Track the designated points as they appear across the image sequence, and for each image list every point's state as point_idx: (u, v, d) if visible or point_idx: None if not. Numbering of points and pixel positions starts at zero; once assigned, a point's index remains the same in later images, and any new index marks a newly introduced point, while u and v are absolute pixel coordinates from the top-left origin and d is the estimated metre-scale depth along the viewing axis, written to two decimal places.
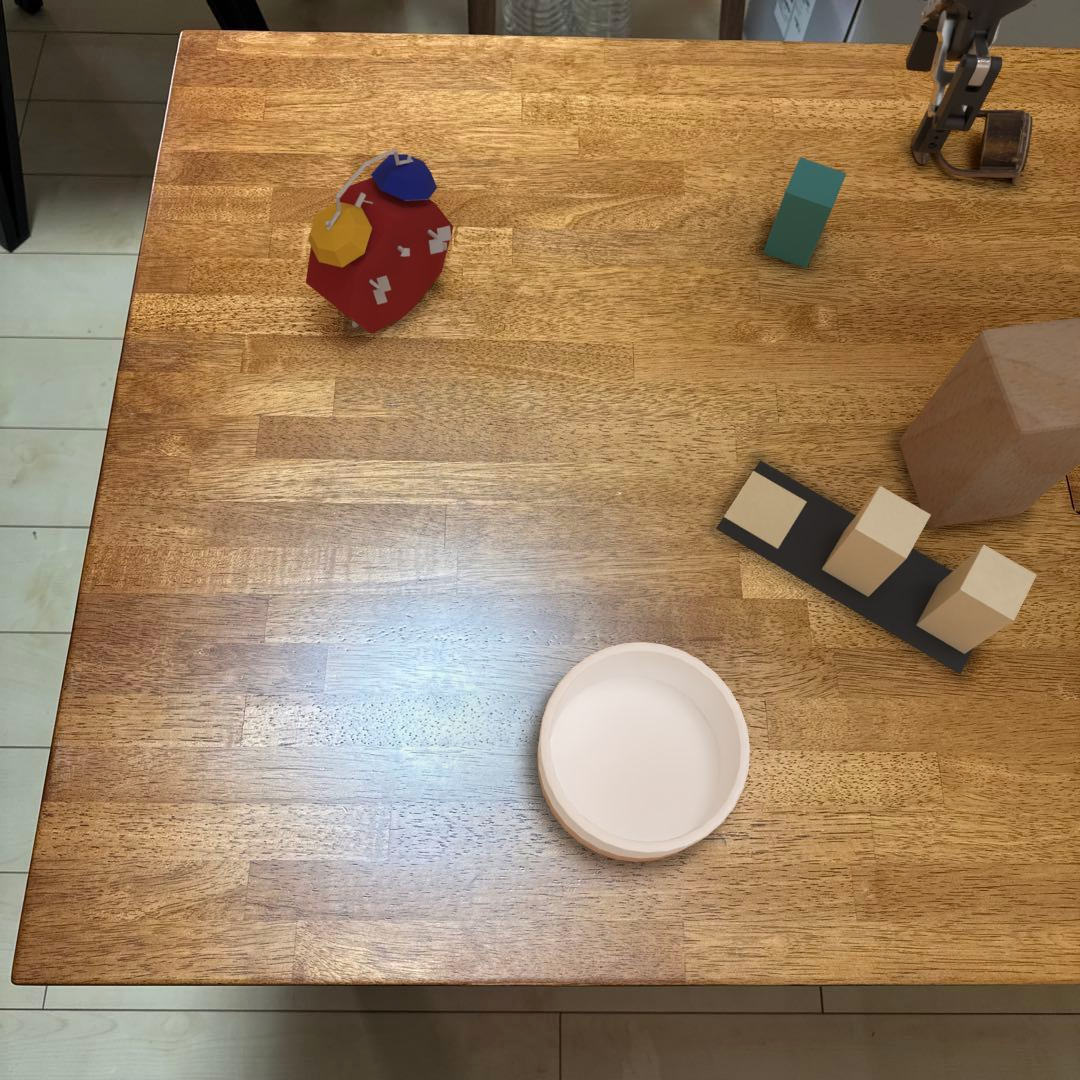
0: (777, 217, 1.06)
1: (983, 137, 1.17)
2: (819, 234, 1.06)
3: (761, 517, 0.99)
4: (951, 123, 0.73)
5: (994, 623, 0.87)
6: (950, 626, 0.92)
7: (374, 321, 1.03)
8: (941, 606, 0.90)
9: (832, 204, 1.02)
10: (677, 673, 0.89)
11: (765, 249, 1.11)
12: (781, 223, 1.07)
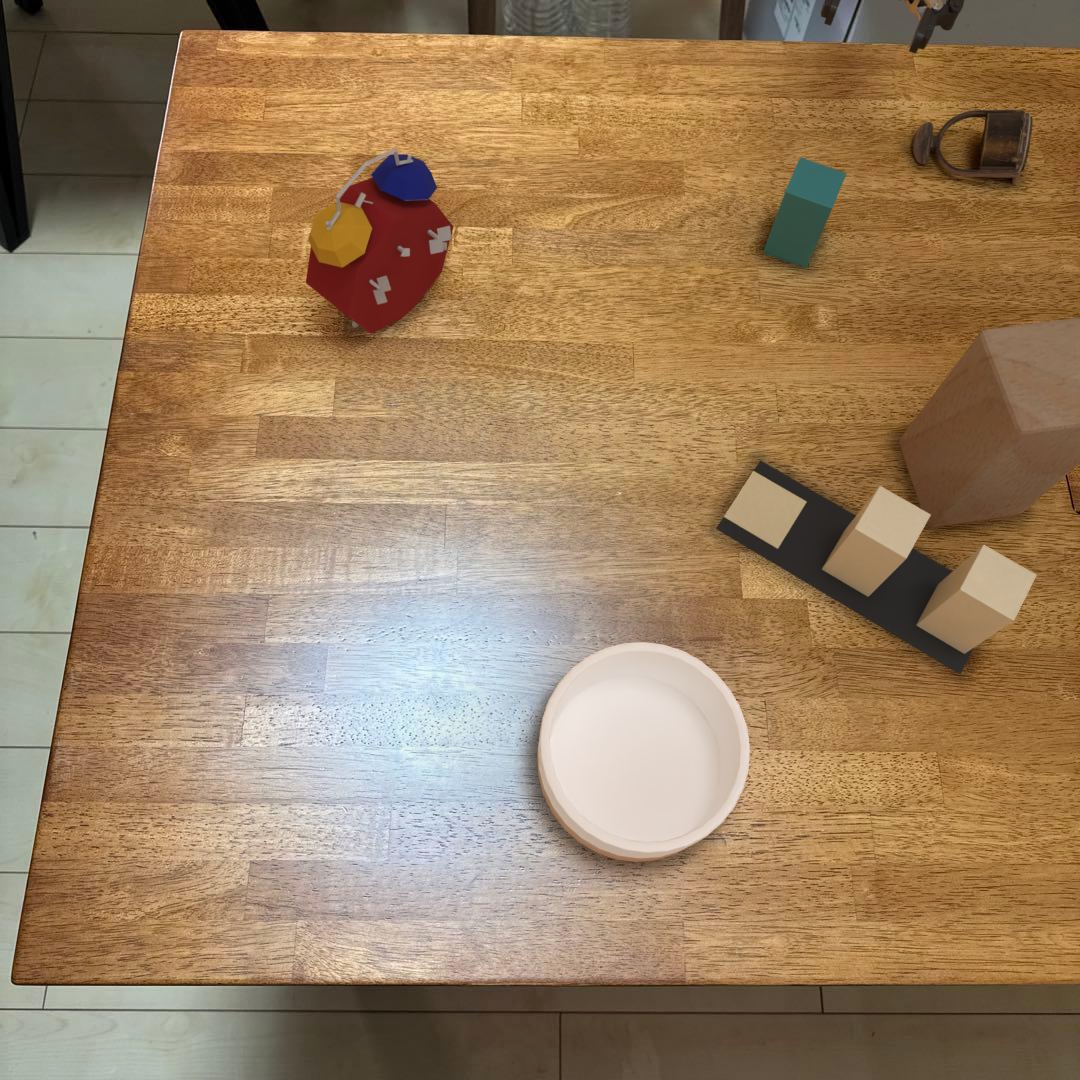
0: (777, 217, 1.06)
1: (983, 137, 1.17)
2: (819, 234, 1.06)
3: (761, 517, 0.99)
4: None
5: (994, 623, 0.87)
6: (950, 626, 0.92)
7: (374, 321, 1.03)
8: (941, 606, 0.90)
9: (832, 204, 1.02)
10: (677, 673, 0.89)
11: (765, 249, 1.11)
12: (781, 223, 1.07)
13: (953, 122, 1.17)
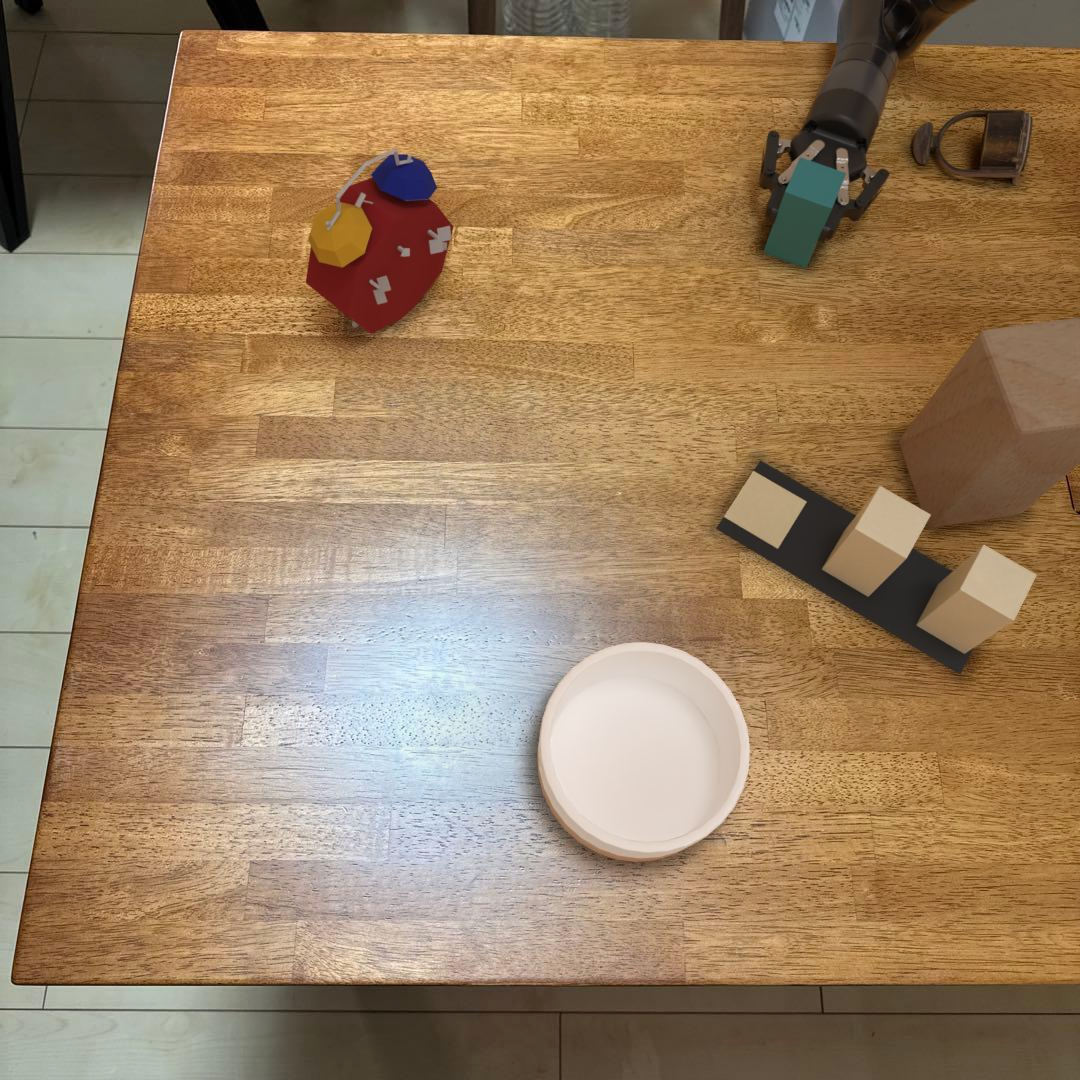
0: (777, 217, 1.06)
1: (983, 137, 1.17)
2: (819, 234, 1.06)
3: (761, 517, 0.99)
4: None
5: (994, 623, 0.87)
6: (950, 626, 0.92)
7: (374, 321, 1.03)
8: (941, 606, 0.90)
9: (832, 204, 1.02)
10: (677, 673, 0.89)
11: (765, 249, 1.11)
12: (781, 223, 1.07)
13: (953, 122, 1.17)
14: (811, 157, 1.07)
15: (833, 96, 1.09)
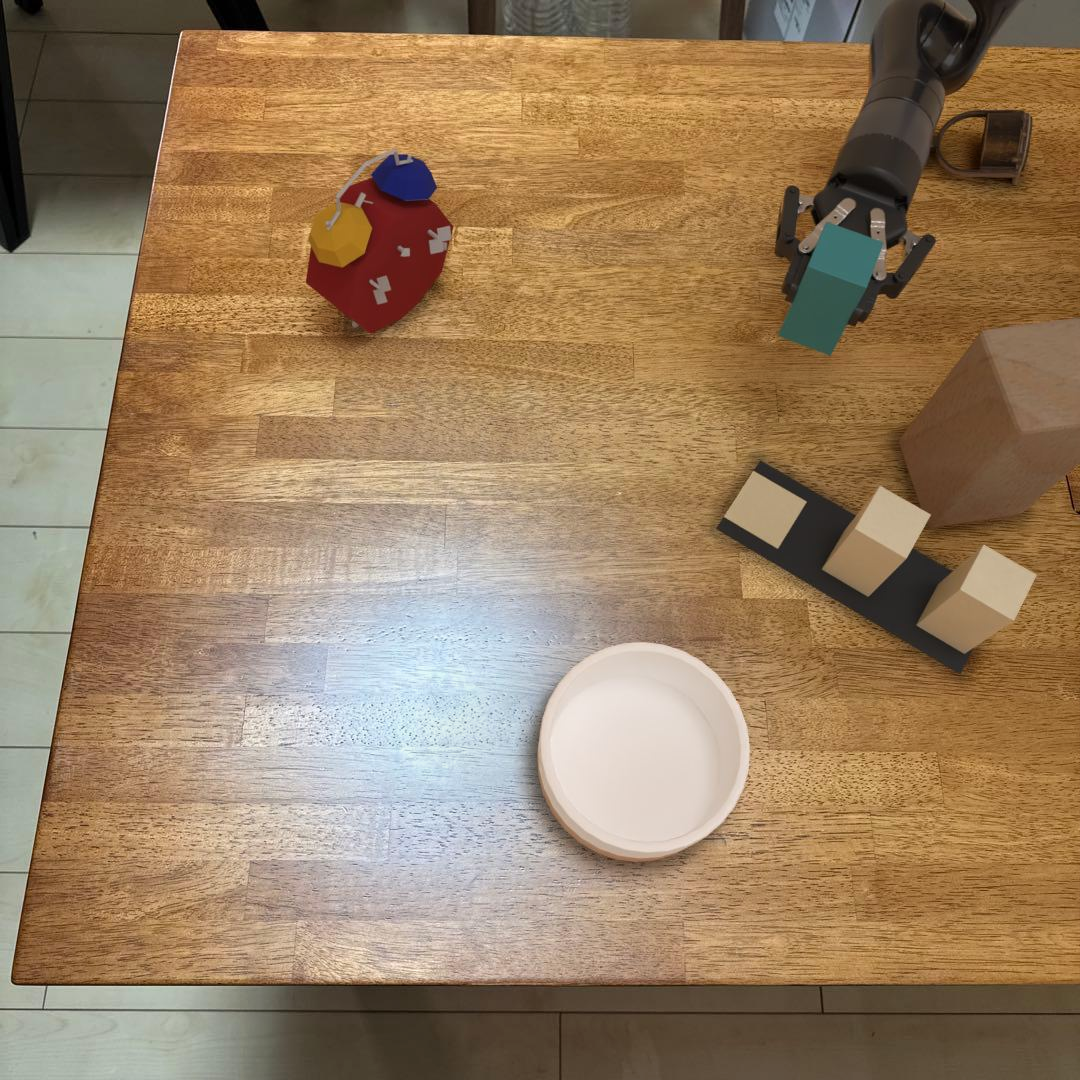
0: (797, 295, 0.86)
1: (983, 137, 1.17)
2: (849, 316, 0.85)
3: (761, 517, 0.99)
4: None
5: (994, 623, 0.87)
6: (950, 626, 0.92)
7: (374, 321, 1.03)
8: (941, 606, 0.90)
9: (867, 282, 0.82)
10: (677, 673, 0.89)
11: (781, 330, 0.90)
12: (802, 301, 0.86)
13: (953, 122, 1.17)
14: (839, 220, 0.87)
15: (866, 143, 0.88)
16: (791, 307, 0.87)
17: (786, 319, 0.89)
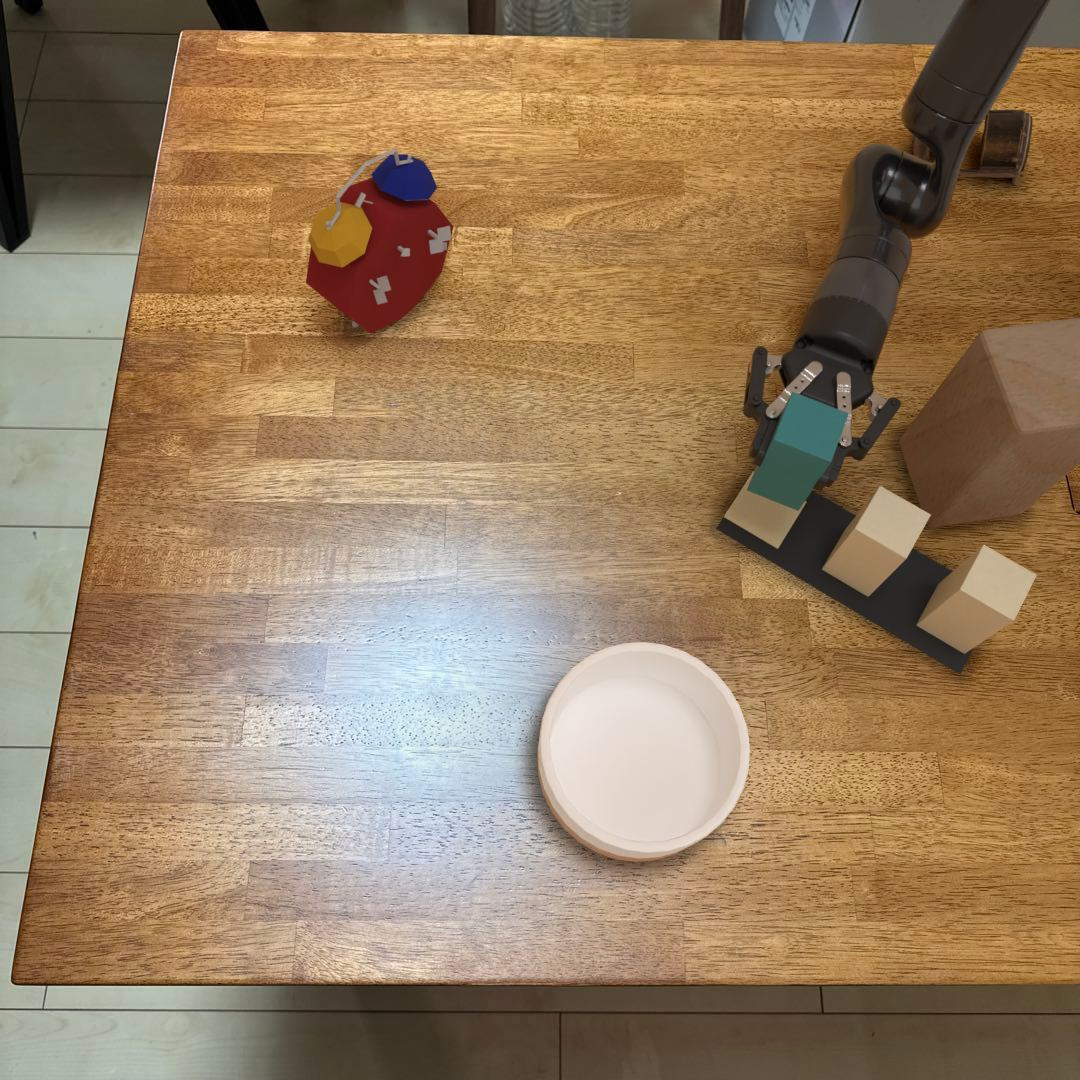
0: (764, 460, 0.87)
1: (983, 137, 1.17)
2: (815, 482, 0.87)
3: (761, 517, 0.99)
4: None
5: (994, 623, 0.87)
6: (950, 626, 0.92)
7: (374, 321, 1.03)
8: (941, 606, 0.90)
9: (831, 456, 0.83)
10: (677, 673, 0.89)
11: (750, 486, 0.92)
12: (769, 466, 0.88)
13: None
14: (806, 384, 0.88)
15: (833, 306, 0.90)
16: (759, 469, 0.89)
17: (754, 478, 0.90)
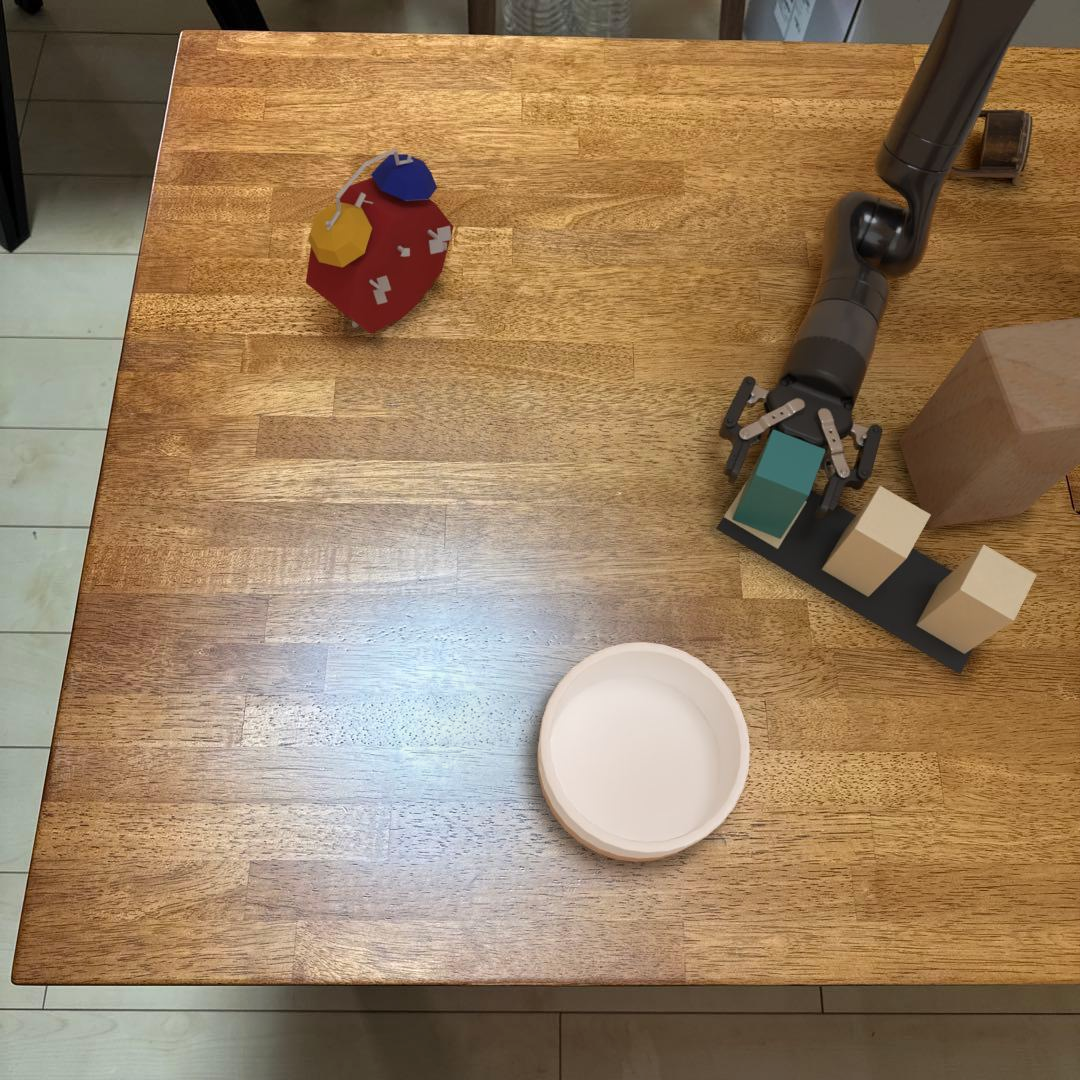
0: (747, 493, 0.93)
1: (983, 137, 1.17)
2: (795, 513, 0.93)
3: None
4: None
5: (994, 623, 0.87)
6: (950, 626, 0.92)
7: (374, 321, 1.03)
8: (941, 606, 0.90)
9: (809, 490, 0.89)
10: (677, 673, 0.89)
11: (735, 515, 0.98)
12: (752, 498, 0.94)
13: None
14: (784, 417, 0.94)
15: (814, 346, 0.95)
16: (742, 501, 0.95)
17: (739, 509, 0.96)
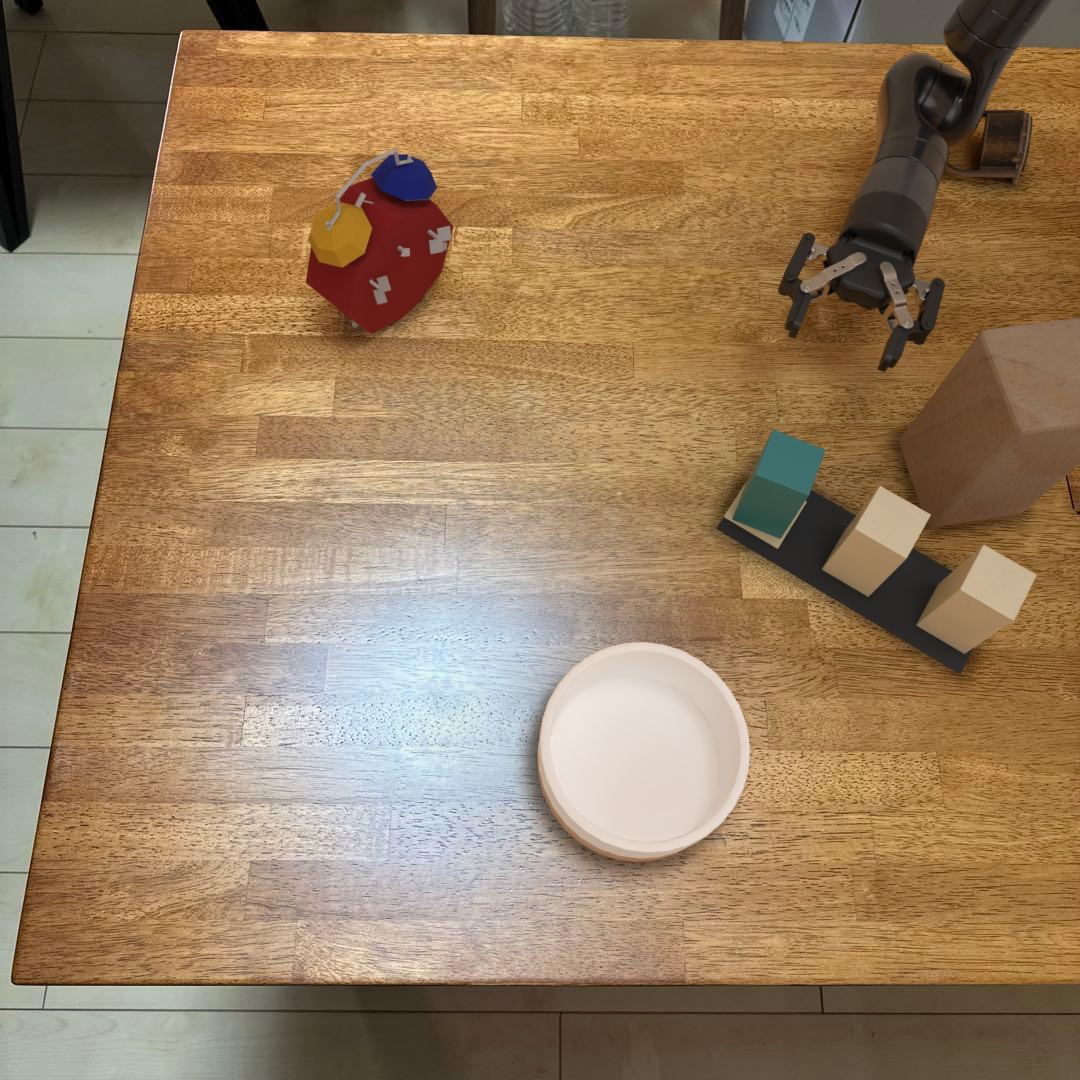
0: (747, 493, 0.93)
1: (983, 137, 1.17)
2: (795, 513, 0.93)
3: None
4: None
5: (994, 623, 0.87)
6: (950, 626, 0.92)
7: (374, 321, 1.03)
8: (941, 606, 0.90)
9: (809, 490, 0.89)
10: (677, 673, 0.89)
11: (735, 515, 0.98)
12: (752, 498, 0.94)
13: None
14: (846, 270, 0.93)
15: (875, 201, 0.94)
16: (742, 501, 0.95)
17: (739, 509, 0.96)
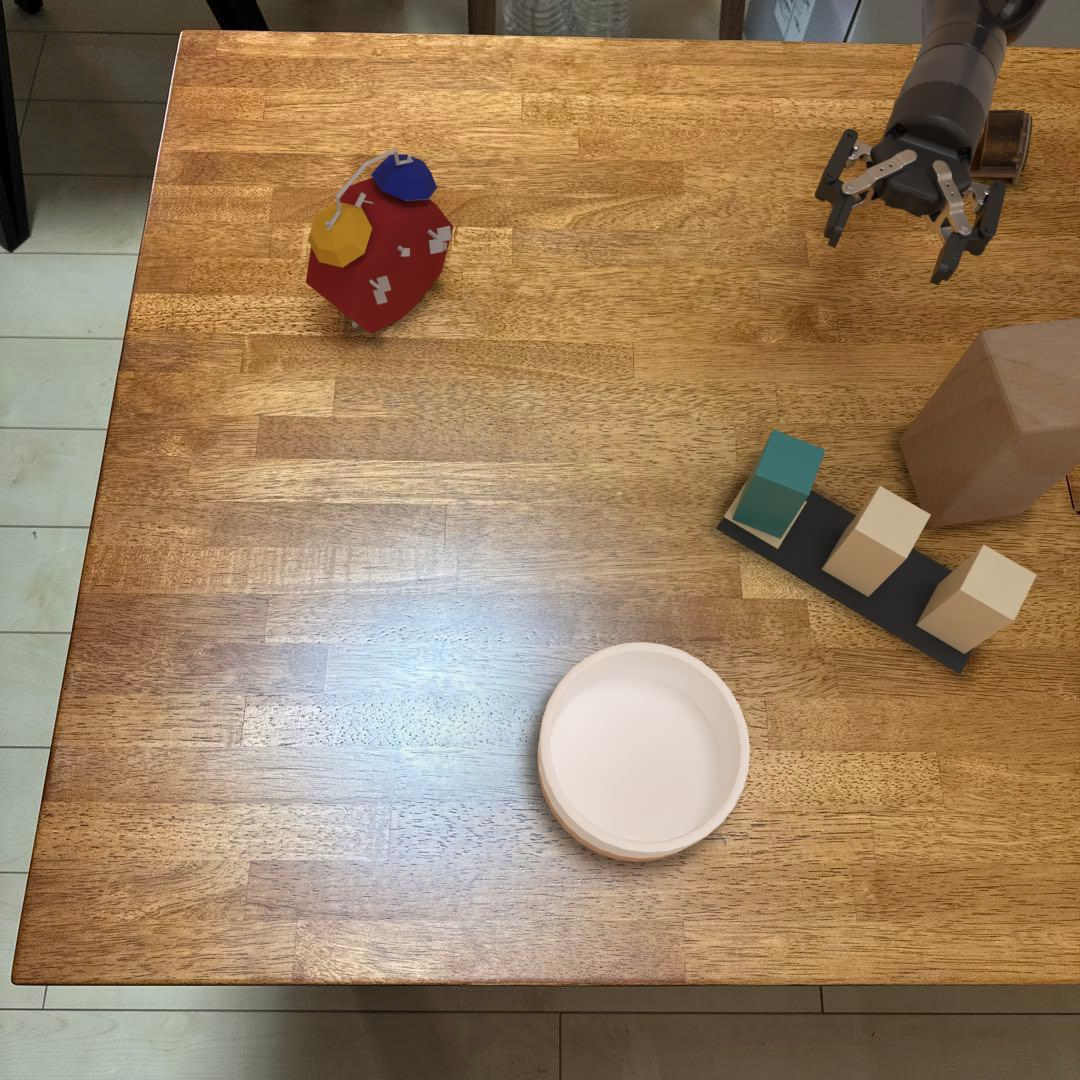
0: (747, 493, 0.93)
1: (983, 137, 1.17)
2: (795, 513, 0.93)
3: None
4: None
5: (994, 623, 0.87)
6: (950, 626, 0.92)
7: (374, 321, 1.03)
8: (941, 606, 0.90)
9: (809, 490, 0.89)
10: (677, 673, 0.89)
11: (735, 515, 0.98)
12: (752, 498, 0.94)
13: None
14: (894, 169, 0.81)
15: (927, 92, 0.83)
16: (742, 501, 0.95)
17: (739, 509, 0.96)
